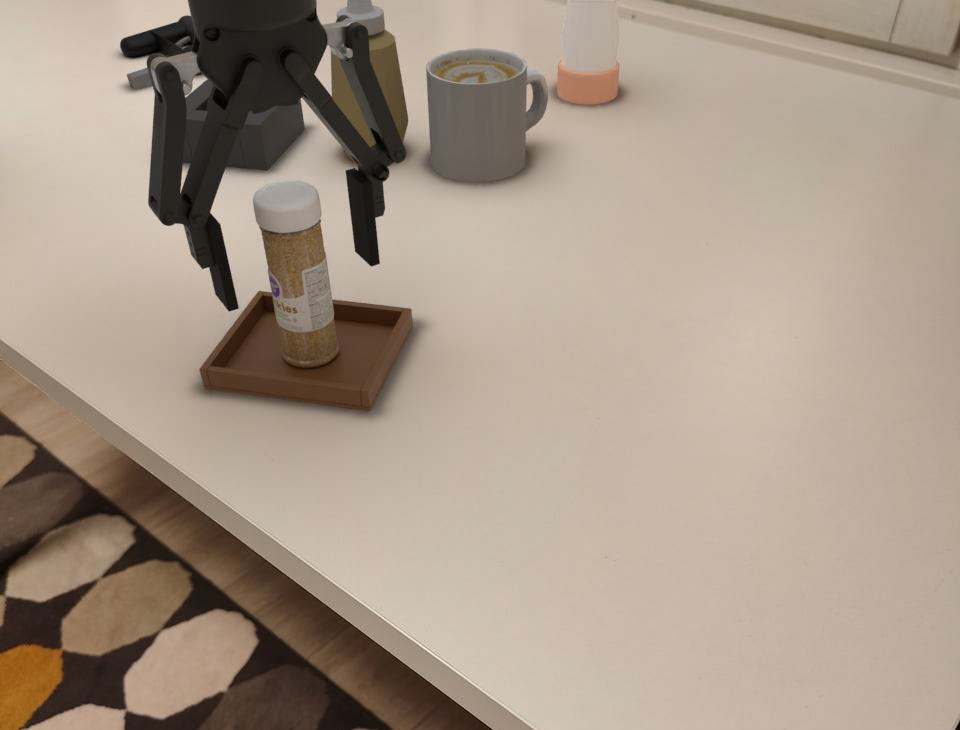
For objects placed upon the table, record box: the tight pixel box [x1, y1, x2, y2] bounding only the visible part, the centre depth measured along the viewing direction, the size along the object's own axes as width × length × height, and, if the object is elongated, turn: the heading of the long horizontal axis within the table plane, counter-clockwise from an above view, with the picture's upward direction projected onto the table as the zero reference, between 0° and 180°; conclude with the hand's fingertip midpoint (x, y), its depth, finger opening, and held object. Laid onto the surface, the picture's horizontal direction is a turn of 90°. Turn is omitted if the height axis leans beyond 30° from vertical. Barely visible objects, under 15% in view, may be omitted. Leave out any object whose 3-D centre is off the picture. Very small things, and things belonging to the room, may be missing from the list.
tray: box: [199, 290, 414, 412], centre depth 74 cm, size 13×11×2 cm
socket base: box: [183, 78, 306, 171], centre depth 102 cm, size 11×11×5 cm
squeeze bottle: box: [330, 0, 409, 162], centre depth 96 cm, size 8×8×18 cm
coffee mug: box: [425, 47, 549, 183], centre depth 97 cm, size 13×10×10 cm
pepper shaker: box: [556, 0, 620, 106], centre depth 107 cm, size 7×7×19 cm
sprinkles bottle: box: [252, 179, 339, 368], centre depth 69 cm, size 5×5×14 cm
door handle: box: [119, 15, 203, 90], centre depth 122 cm, size 3×20×16 cm
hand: (299, 279), depth 70 cm, fingers open, 10 cm apart
